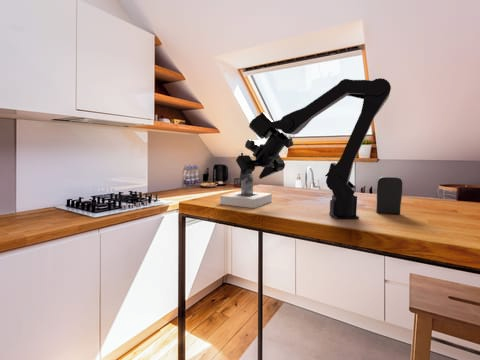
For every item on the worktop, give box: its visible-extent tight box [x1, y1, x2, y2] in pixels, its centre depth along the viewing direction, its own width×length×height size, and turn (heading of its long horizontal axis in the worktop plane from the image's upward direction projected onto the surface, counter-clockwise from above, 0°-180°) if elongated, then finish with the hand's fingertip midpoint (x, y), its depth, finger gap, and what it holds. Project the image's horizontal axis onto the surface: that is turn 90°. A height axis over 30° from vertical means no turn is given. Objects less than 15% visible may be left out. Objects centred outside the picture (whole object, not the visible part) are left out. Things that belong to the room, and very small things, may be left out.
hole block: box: [219, 190, 273, 209], centre depth 101 cm, size 14×14×3 cm
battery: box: [375, 176, 404, 215], centre depth 85 cm, size 7×4×11 cm, turn 69°
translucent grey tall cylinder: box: [240, 172, 254, 197], centre depth 101 cm, size 4×4×11 cm
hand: (250, 178), depth 99 cm, fingers open, 9 cm apart
